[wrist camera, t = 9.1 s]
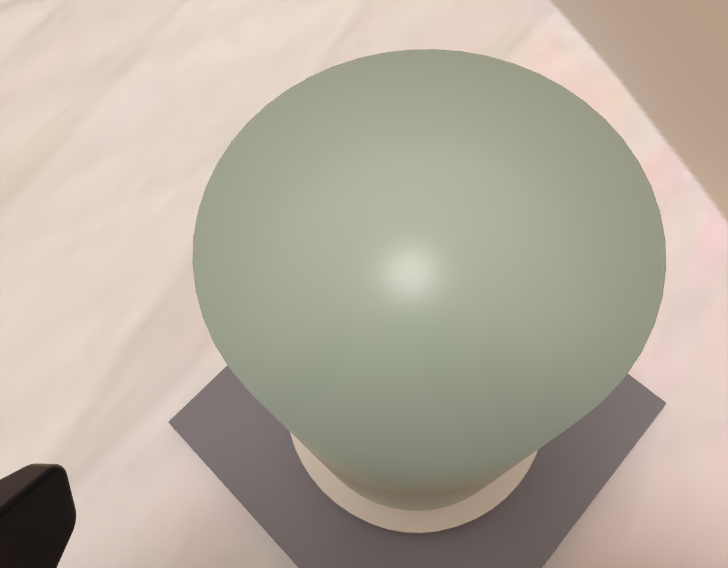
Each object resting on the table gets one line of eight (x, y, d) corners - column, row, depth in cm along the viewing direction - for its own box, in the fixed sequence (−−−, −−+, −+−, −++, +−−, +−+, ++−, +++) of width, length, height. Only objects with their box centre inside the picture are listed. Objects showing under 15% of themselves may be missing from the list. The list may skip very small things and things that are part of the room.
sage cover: (569, 387, 17) (761, 206, 8) (423, 564, 15) (449, 595, 6) (404, 256, 19) (404, -9, 10) (260, 399, 17) (100, 241, 8)
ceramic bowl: (572, 406, 20) (599, 384, 17) (423, 589, 18) (426, 598, 15) (404, 270, 22) (404, 231, 19) (256, 418, 20) (233, 398, 17)
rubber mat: (661, 405, 20) (666, 403, 20) (429, 709, 17) (430, 714, 17) (400, 205, 24) (399, 200, 23) (172, 424, 21) (168, 422, 20)
